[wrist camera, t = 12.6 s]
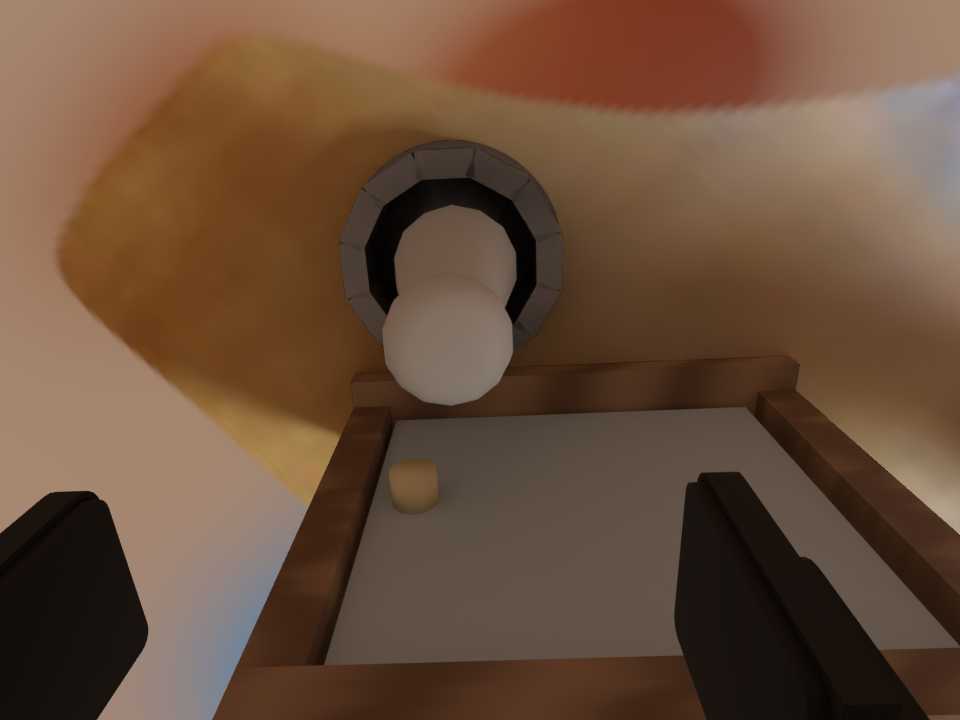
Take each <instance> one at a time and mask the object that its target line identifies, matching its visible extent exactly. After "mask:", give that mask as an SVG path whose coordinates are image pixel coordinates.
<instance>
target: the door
mask: <svg viewBox="0 0 960 720" xmlns="http://www.w3.org/2000/svg"><path fill="white" fill-rule="evenodd" d="M703 472H740V473H741V474H742V475H743V476H744V478H745V479H746V481H747V482H748V483H749V485H750V486H751V488H752V489H753V491H754V492H755V493H756V495H757V496H758V498H759V499H760V501H761V502H762V503H763V505H764V506H765V508H766V509H767V511H768V512H769V513H770V515H771V516H772V518H773V519H774V520H775V522H776V523H777V525H778V526H779V528H780V529H781V530H782V532H783V533H784V535H785V536H786V538H787V539H788V540H789V542H790V543H791V545H792V546H793V548H794V549H795V550H796V552H797V553H798V555H799V556H800V557H807V558H809V559H811V560H812V561H813V562H814V563H815V564H816V565H817V566H818V567H819V568H820V570H821V571H822V572H823V574H824V575H825V576H826V578H827V579H828V580H829V582H830V583H831V585H832V586H833V587H834V589H835V590H836V591H837V593H838V594H839V596H840V597H841V598H842V600H843V601H844V602H845V604H846V605H847V607H848V608H849V609H850V611H851V612H852V613H853V615H854V616H855V618H856V619H857V620H858V622H859V623H860V624H861V626H862V627H863V629H864V630H865V631H866V633H867V634H868V635H869V637H870V638H871V640H872V641H873V642H874V644H875V645H876V646H877V648H878V649H879V650H890V649H926V648H960V646H959V645H958V643H957V642H956V641H955V640H954V639H953V638H952V637H951V636H950V635H949V633H948V632H947V631H946V630H945V629H944V628H943V627H942V626H941V625H940V623H939V622H938V621H937V620H936V619H935V618H934V617H933V616H932V614H931V613H930V612H929V611H928V610H927V609H926V608H925V607H924V606H923V604H922V603H921V602H920V601H919V600H918V599H917V598H916V597H915V596H914V594H913V593H912V592H911V591H910V590H909V589H908V588H907V587H906V585H905V584H904V583H903V582H902V581H901V580H900V579H899V578H898V577H897V575H896V574H895V573H894V572H893V571H892V570H891V569H890V568H889V566H888V565H887V564H886V563H885V562H884V561H883V560H882V559H881V558H880V556H879V555H878V554H877V553H876V552H875V551H874V550H873V549H872V548H871V546H870V545H869V544H868V543H867V542H866V541H865V540H864V539H863V537H862V536H861V535H860V534H859V533H858V532H857V531H856V530H855V529H854V527H853V526H852V525H851V524H850V523H849V522H848V521H847V520H846V519H845V517H844V516H843V515H842V514H841V513H840V512H839V511H838V510H837V508H836V507H835V506H834V505H833V504H832V503H831V502H830V501H829V500H828V498H827V497H826V496H825V495H824V494H823V493H822V492H821V491H820V490H819V488H818V487H817V486H816V485H815V484H814V483H813V482H812V481H811V479H810V478H809V477H808V476H807V475H806V474H805V473H804V472H803V471H802V469H801V468H800V467H799V466H798V465H797V464H796V463H795V462H794V461H793V459H792V458H791V457H790V456H789V455H788V454H787V453H786V452H785V450H784V449H783V448H782V447H781V446H780V445H779V444H778V443H777V442H776V440H775V439H774V438H773V437H772V436H771V435H770V434H769V433H768V431H767V430H766V429H765V428H764V427H763V426H762V425H761V424H760V423H759V421H758V420H757V419H756V418H755V417H754V416H753V415H752V414H751V413H750V411H749V410H748V409H747V408H746V407H732V408H707V409H681V410H655V411H629V412H604V413H578V414H552V415H527V416H501V417H475V418H449V419H424V420H398V421H396V423H395V426H394V430H393V433H392V437H391V440H390V443H389V447H388V450H387V454H386V457H385V460H384V464H383V467H382V470H381V474H380V477H379V481H378V484H377V487H376V491H375V494H374V498H373V501H372V504H371V508H370V511H369V514H368V518H367V521H366V525H365V528H364V531H363V535H362V538H361V542H360V545H359V548H358V552H357V555H356V558H355V562H354V565H353V569H352V572H351V575H350V579H349V582H348V586H347V589H346V592H345V596H344V599H343V602H342V606H341V609H340V613H339V616H338V619H337V623H336V626H335V630H334V633H333V636H332V640H331V643H330V646H329V650H328V653H327V657H326V660H325V663H324V665H355V664H391V663H427V662H462V661H498V660H534V659H569V658H605V657H641V656H676V655H683V652H682V650H681V647H680V644H679V641H678V638H677V634H676V630H675V623H674V609H675V599H676V588H677V577H678V567H679V556H680V546H681V535H682V524H683V514H684V503H685V492H686V486H687V484H688V483H689V482H697V480H698V477H699V474H701V473H703Z"/></svg>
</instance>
